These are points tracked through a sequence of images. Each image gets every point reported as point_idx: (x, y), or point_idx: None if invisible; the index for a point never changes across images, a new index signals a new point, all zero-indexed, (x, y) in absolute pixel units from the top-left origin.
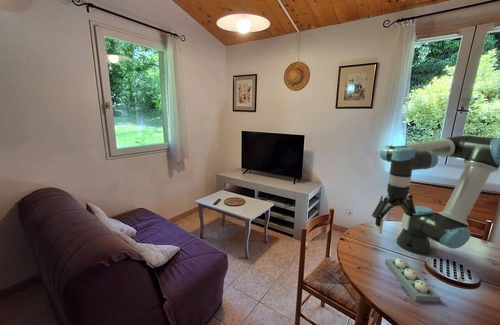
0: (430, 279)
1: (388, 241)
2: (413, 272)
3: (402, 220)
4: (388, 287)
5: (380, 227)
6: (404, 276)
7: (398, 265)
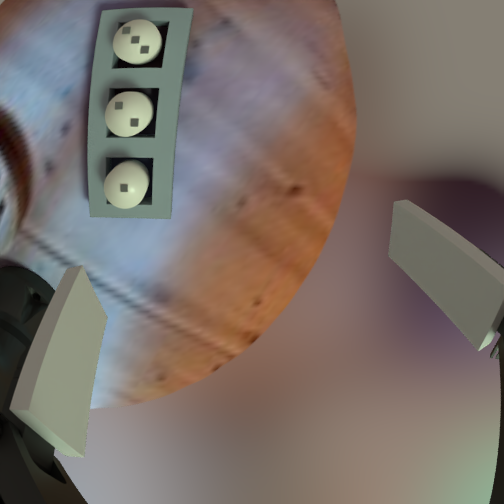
0: (49, 129)
1: None
2: (118, 107)
3: (93, 375)
4: (246, 79)
5: (449, 235)
6: (157, 108)
7: (143, 171)
